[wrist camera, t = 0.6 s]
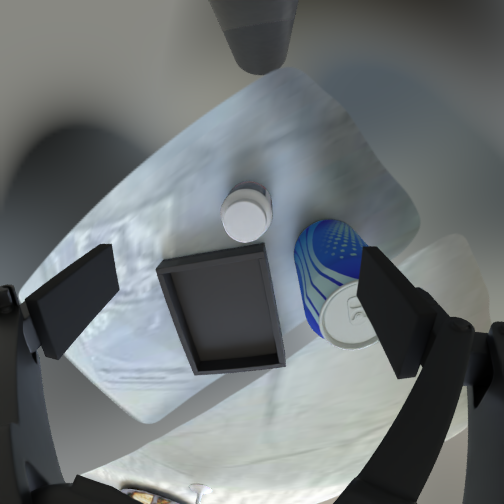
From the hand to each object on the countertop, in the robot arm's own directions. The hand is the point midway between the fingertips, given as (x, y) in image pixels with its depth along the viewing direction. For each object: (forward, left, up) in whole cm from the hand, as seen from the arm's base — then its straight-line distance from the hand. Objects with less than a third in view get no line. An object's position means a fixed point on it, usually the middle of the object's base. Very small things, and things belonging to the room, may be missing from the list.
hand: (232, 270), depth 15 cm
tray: (+15, -7, -22) cm, 27 cm away
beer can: (+8, +8, -22) cm, 25 cm away
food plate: (+87, -50, -22) cm, 102 cm away
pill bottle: (+1, -1, -22) cm, 22 cm away
